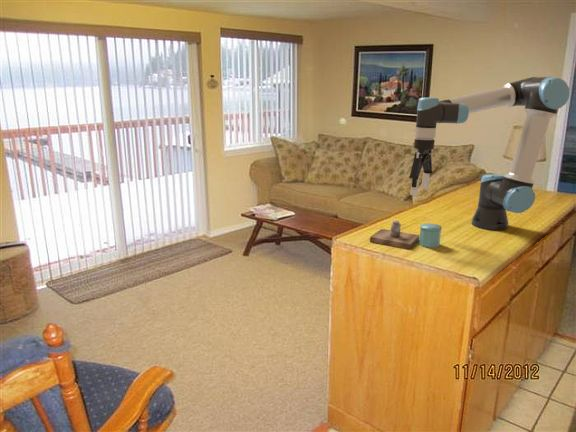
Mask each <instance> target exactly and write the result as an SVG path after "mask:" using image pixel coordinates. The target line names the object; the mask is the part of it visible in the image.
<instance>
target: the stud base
mask: <svg viewBox="0 0 576 432" xmlns="http://www.w3.org/2000/svg"><path fill="white" fill-rule="evenodd" d="M390 225H391V226H390V229H385V228H380V229H379V230H377V231H376V232H375V233H374V234H372V235H371V236H370V237H369V242H370V243H375V244H380V245H386V246H391V247H395V248H400V249H401V248H402V249H407V250H410V249H412V247H413V246H415V245H416V244H417V243H418V242H419V240H420V234H415V233H409V232H408V233H407V232H403V231H401V223H400V221H399V220H393V221H392V222H391V224H390Z"/></svg>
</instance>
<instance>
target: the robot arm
mask: <svg viewBox="0 0 576 432" xmlns="http://www.w3.org/2000/svg"><path fill="white" fill-rule="evenodd" d="M570 93H571V92H570V88H569V85H568V84H567V82H566V81H565V80H564V79H562V78H560V77H554V76H542V77H541V76H532V77H527V78H523V79H521V80H519V79H518V80H516V81H513V82H509V83H505V84H504V85H503V86H502V87H498V88H493V89H489V90H484V91H480V92H475V93H470V94H466V95H461V96H456V97H451V98H448V99H444V100H443V99H442V100H440V99H439V97H428V96H427V97H421V98H419V99H418V103H417V108H416V122H415V123H416V124H415V129H414V132H415V133H414V136H415V138H414V142H413V148H414V149H416V150H417V152H414V157H413V162H412V166H411V169H410V174H409V179H411V182H410V192H409V193H410V196H414V197H415V196H416V197H417V196H418V193H419V183H420V179H419V177H420V173H421V171H422V170H423V173H422V176H421V179H422V180H421V186H420V188H421V190H426V191H427V190H429V187H430V186H429V185H430V175H431V174H433V164H432V162H433V161H432V151H433V150H434V148H435V138H436V131H437V124H456V125H457V124H464V123H466V122H467V121H468V119H469V115H470V114H472V113H476V112H481V111H487V110H491V109H495V108H500V107H504V106H506V107H508V108H512V107H518V106H520V107H524V111H525V113H526V118H525V121H524V124H523V127H522V130H521V134H520V137H519V140H518V143H517V147H516V149H515V152H514V155H513V159H512V162H511V165H510V169H509V172H508V173H506V174H497V173H496V174H493V173H491V174H484V175H482V177H481V180H480V183H479V184H480V188H479V194H478V195H479V196H478V201H477V203H478V204H477V208H476V210H475V212H474V213H473V216H472V218H471V225H473V226H474V227H476V228H479V229H485V230H491V231H502V230H507V229H508V228H509V218H508V214H507V213H508V212H510V213H514V214H521V213H525V212H526V211H528V210H529V209H531V207H533V205H534V203H535V201H536V193H535V190H534V189H533V188H534V184H535V182H534V181H533V173H534V170H535V168H536V165H537V162H538V158H539V156H540V152H541V149H542V146H543V144H544V139H545V137H546V134H547V131H548V129H549V125H550V121H551V119H552V118H554V117H555V116H557V114H558V112H559V111H558V110H559V109H562V107H564V106H565V105H566V104H567V102H568V101H569V99H570Z"/></svg>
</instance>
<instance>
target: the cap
mask: <svg viewBox="0 0 576 432" xmlns="http://www.w3.org/2000/svg"><path fill="white" fill-rule="evenodd" d="M441 232H442V225H439V224H436V223H421V224H420V231H419V241H418V244H419V246H421V247H423V248H429V249H435V248H439V246H441V245H440V244H441V243H440V242H441V236H442V235H441Z"/></svg>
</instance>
